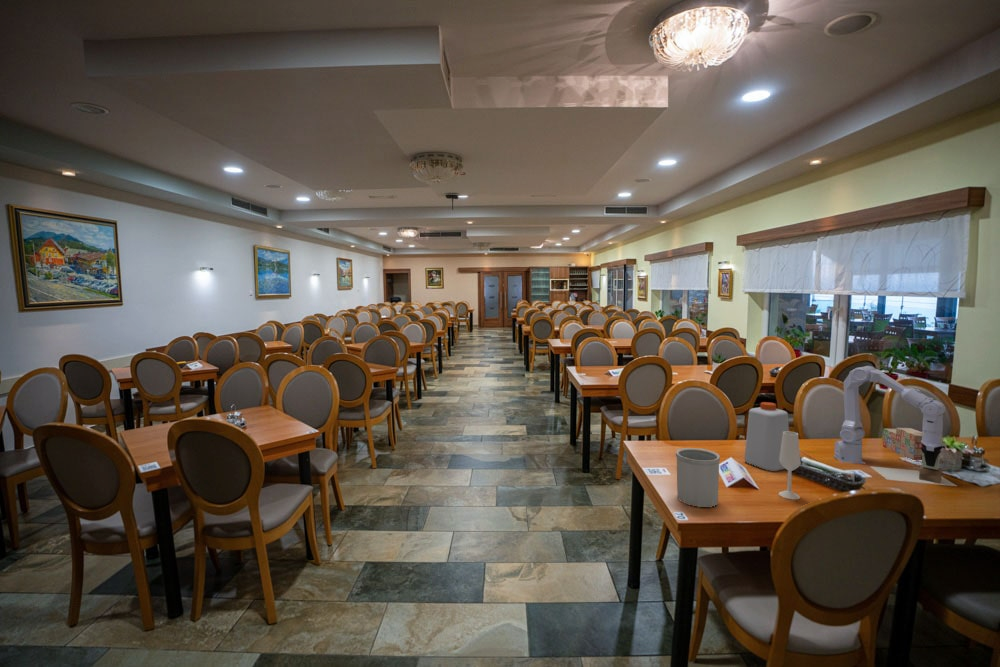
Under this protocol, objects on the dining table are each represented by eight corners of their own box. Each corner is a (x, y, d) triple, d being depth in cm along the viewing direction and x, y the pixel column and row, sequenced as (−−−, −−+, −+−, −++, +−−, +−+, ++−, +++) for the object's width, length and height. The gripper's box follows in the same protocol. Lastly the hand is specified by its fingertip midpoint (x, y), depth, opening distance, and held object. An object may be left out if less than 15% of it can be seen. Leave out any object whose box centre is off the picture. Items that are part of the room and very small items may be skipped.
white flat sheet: (887, 480, 174) (887, 479, 173) (869, 467, 188) (869, 466, 188) (957, 487, 166) (957, 485, 166) (933, 473, 180) (933, 471, 180)
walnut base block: (919, 479, 173) (919, 468, 173) (920, 475, 177) (921, 464, 177) (940, 483, 169) (940, 472, 168) (941, 479, 173) (941, 468, 172)
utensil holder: (670, 490, 168) (670, 446, 167) (710, 491, 166) (710, 447, 165) (682, 508, 153) (683, 460, 152) (726, 509, 152) (726, 461, 151)
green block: (921, 466, 173) (922, 454, 172) (922, 463, 176) (923, 451, 176) (938, 469, 169) (938, 457, 169) (938, 466, 172) (939, 454, 172)
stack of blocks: (882, 446, 215) (883, 422, 214) (896, 447, 214) (897, 422, 213) (913, 461, 194) (915, 434, 193) (930, 462, 193) (931, 435, 192)
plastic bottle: (771, 473, 183) (772, 408, 181) (740, 461, 197) (741, 401, 195) (795, 467, 189) (796, 405, 187) (762, 457, 203) (764, 398, 201)
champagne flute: (804, 497, 160) (805, 434, 158) (790, 500, 158) (792, 436, 156) (787, 490, 166) (789, 429, 165) (774, 493, 164) (775, 431, 163)
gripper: (945, 437, 164) (943, 471, 165) (947, 429, 173) (946, 462, 174) (919, 433, 169) (918, 467, 170) (923, 426, 179) (922, 458, 180)
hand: (930, 464), depth 172 cm, fingers closed on green block, 5 cm apart
